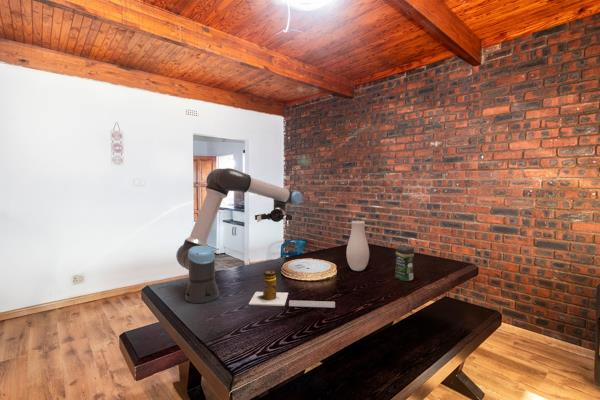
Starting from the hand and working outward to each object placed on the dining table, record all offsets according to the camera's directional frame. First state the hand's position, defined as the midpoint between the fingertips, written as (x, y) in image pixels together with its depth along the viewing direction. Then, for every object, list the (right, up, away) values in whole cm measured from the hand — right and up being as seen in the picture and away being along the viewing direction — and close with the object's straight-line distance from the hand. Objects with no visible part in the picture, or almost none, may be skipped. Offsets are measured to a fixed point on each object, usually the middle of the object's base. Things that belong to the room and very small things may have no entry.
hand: (270, 219), depth 153 cm
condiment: (0, -36, -15) cm, 38 cm away
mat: (+1, -36, -15) cm, 39 cm away
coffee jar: (+73, -34, +14) cm, 82 cm away
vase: (+50, -33, +31) cm, 68 cm away
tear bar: (+20, -36, -22) cm, 47 cm away
